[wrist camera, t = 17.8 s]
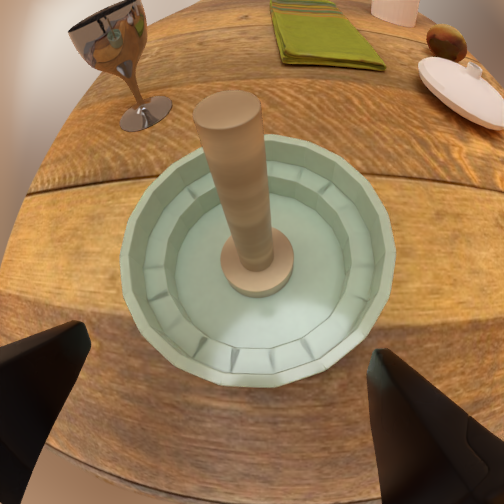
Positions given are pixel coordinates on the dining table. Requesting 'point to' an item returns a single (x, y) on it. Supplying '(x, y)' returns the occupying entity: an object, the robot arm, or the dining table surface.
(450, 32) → the fruit
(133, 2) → the wine glass
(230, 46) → the dining table surface
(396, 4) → the bottle
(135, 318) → the bowl
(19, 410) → the robot arm
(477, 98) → the flat round vase
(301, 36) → the dish towel
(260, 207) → the beige piece
